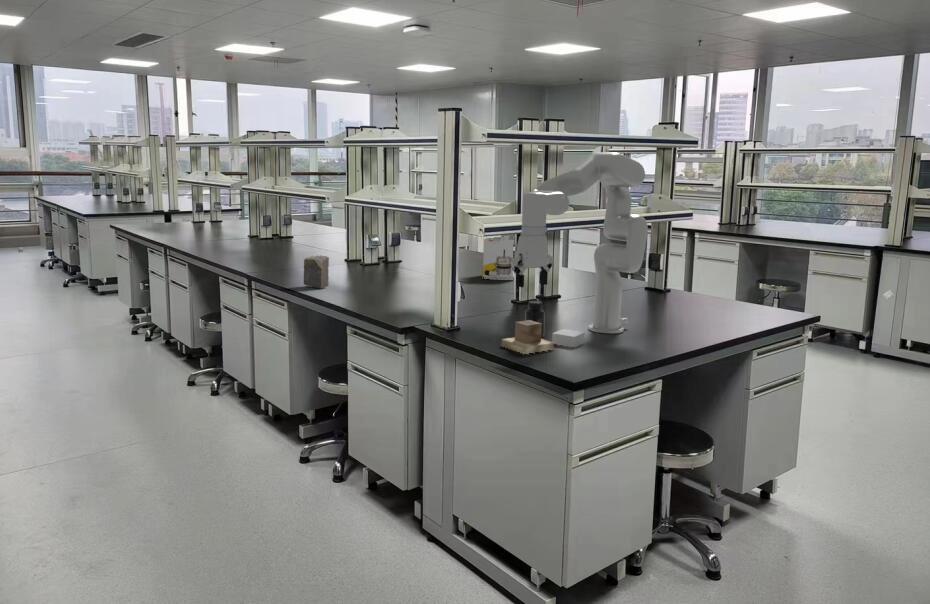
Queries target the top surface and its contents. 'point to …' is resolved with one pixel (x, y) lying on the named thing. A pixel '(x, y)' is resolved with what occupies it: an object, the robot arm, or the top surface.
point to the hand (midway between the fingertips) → (531, 285)
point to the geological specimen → (316, 271)
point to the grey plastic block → (568, 338)
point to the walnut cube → (528, 331)
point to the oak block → (527, 346)
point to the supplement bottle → (536, 314)
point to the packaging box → (498, 256)
